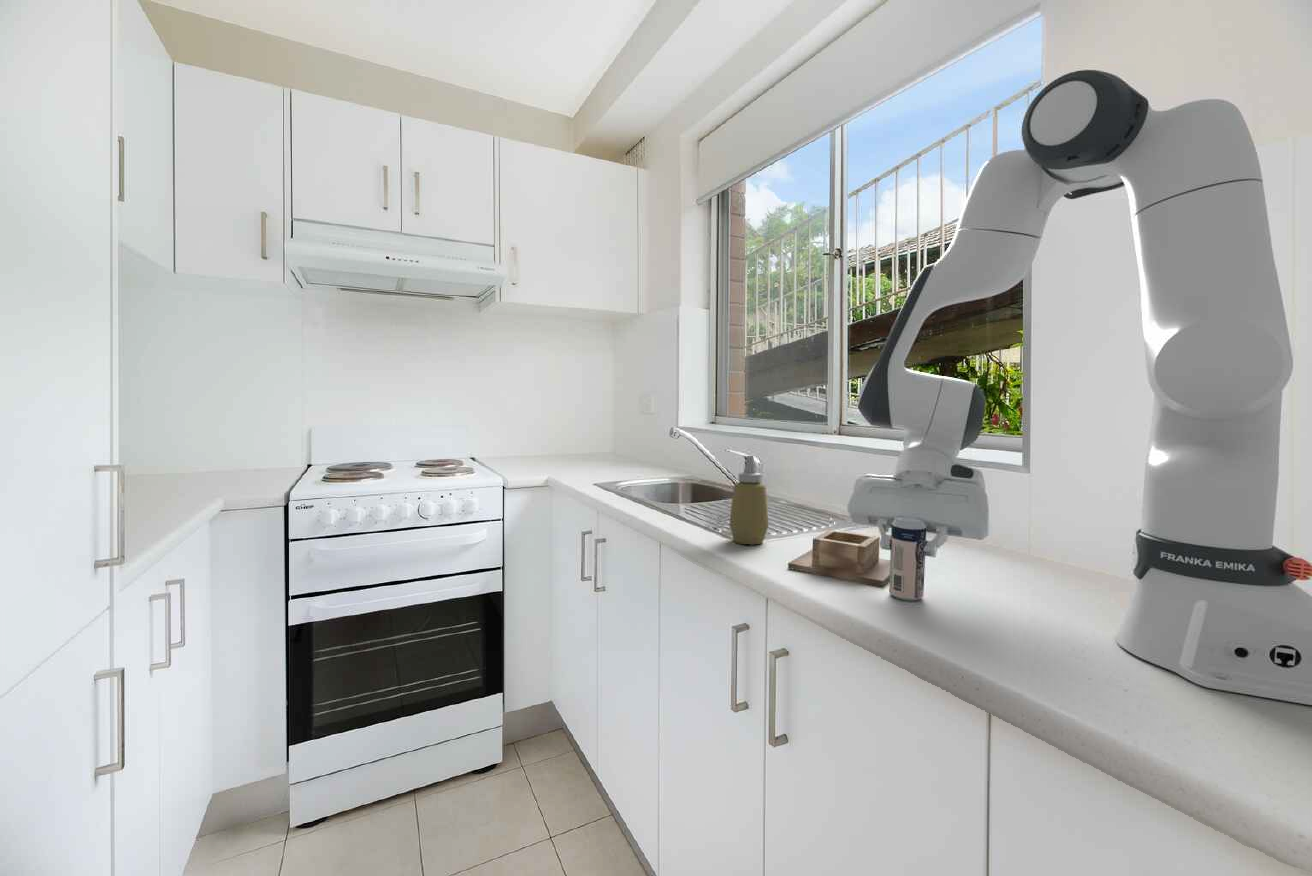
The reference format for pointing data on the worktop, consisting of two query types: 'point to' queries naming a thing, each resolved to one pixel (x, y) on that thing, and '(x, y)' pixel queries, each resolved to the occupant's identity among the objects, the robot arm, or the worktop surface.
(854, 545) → the can caddy
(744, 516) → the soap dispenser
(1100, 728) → the worktop surface
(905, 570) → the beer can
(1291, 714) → the worktop surface
